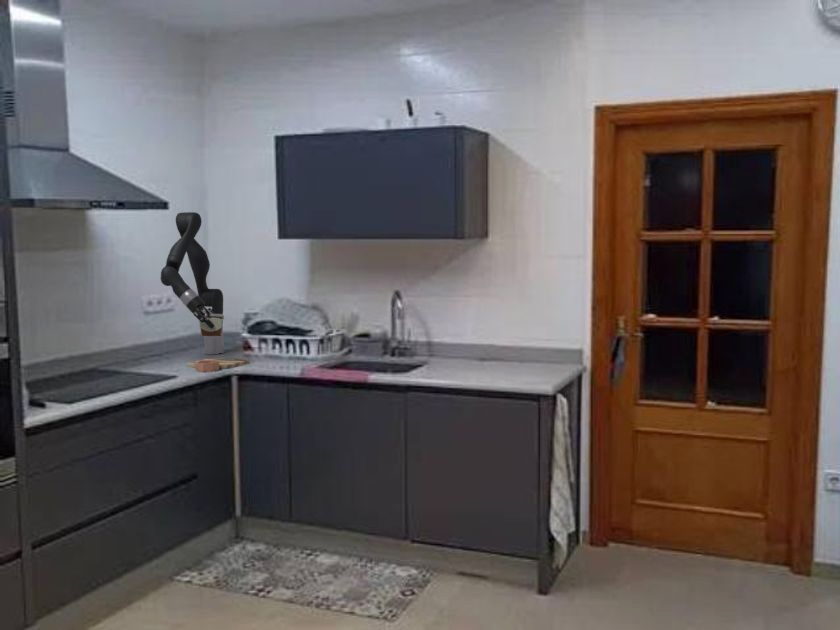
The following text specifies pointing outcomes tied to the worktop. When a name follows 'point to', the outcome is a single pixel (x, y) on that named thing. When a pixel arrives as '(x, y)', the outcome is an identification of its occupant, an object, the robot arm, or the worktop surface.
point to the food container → (216, 330)
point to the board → (224, 362)
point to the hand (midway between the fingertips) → (216, 326)
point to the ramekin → (207, 366)
